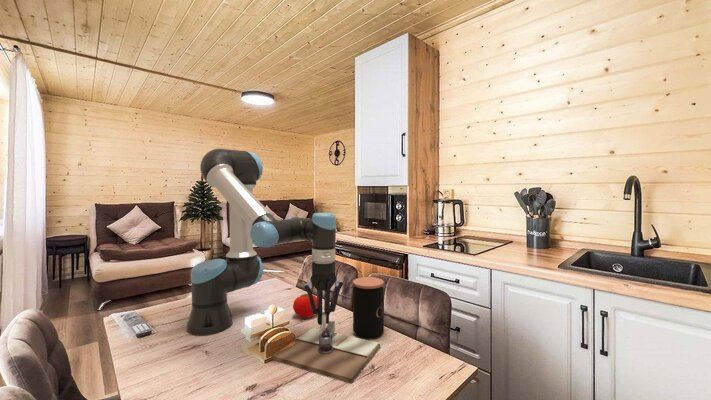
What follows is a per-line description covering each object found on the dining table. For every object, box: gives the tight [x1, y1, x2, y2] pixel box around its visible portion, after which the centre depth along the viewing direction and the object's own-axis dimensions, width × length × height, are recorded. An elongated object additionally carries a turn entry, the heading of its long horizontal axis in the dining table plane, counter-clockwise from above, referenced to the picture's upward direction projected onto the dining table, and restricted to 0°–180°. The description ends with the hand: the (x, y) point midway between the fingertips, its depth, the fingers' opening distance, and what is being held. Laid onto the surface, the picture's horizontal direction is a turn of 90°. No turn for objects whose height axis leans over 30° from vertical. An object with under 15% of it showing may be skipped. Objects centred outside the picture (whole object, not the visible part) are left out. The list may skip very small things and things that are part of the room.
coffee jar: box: [352, 276, 385, 340], centre depth 110 cm, size 11×11×18 cm
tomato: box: [292, 293, 317, 318], centre depth 125 cm, size 9×10×8 cm
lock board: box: [271, 327, 381, 384], centre depth 96 cm, size 26×20×2 cm
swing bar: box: [319, 320, 336, 351], centre depth 101 cm, size 13×4×4 cm, turn 174°
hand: (323, 333), depth 103 cm, fingers closed
